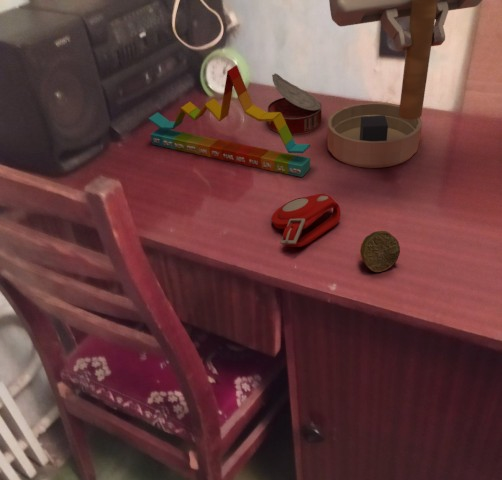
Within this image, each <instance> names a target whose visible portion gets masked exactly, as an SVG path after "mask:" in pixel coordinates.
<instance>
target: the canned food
mask: <svg viewBox="0 0 502 480" xmlns="http://www.w3.org/2000/svg"><path fill="white" fill-rule="evenodd" d="M271 77H272V83H273V85H274V88H275V89H276V90H277V91H278V93H279V94H280V95H281V96H282V97H280V98H277V99H276V100H274V101H272V102H271V103H269V105H268V106H267V112H281V113H282V116H283V118H284V120H285V122H286V124H287V126H288V128H289V131H290V133H291V135H292V136H293V135H294V136H296V135H303V134H308V133H311V132H314V131H316V130H317V129H319V127H321V125H322V107H323V105H322V103H321V102H320V101H319V100H318V99H317V98H316V97H315V96H314V95H312V94H310V93H309V92H307V91H305V90H304V89H301V88H300V87H299V86H297V85H294V84H293V83H291V82H289V81H288V80H286V79H284V78H283V77H282V76H281V75H279V74H278V73H273V74H271ZM267 123H268V127H269V130H272V131H273V132H274V133H277V134H279V133H278V131H277V128H276V126H275V124H274V122H273V121H267Z"/></svg>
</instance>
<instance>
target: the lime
mask: <svg viewBox="0 0 502 480" xmlns="http://www.w3.org/2000/svg"><path fill="white" fill-rule="evenodd" d="M359 251H360V256H361V259H362V262H363V264H364V265H365V266H366V268H367V269H369V270H370V271H371V272H373V273H374V272H375V273H381V272H385V271H387V270H388V269H390V268H391V267H393V265H395V263H396V262H397V261H398V260H399V257H400V253H401V247H400V243H399V240H398V239H397V238H396V237H395V236H394V235H393V234H391V233H390V232H389V231H386V230H378V231H373V232H371V233H370V234H368V235H367V236H365V238H364V239H363V241H362V243H361V246H360V250H359Z"/></svg>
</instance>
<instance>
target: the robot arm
mask: <svg viewBox="0 0 502 480" xmlns="http://www.w3.org/2000/svg"><path fill="white" fill-rule="evenodd" d="M411 2H412V0H328V3H329V10H330V11H329V12H330V17H331V20H332V22H334V23H335V24H336V25H337V26H338V27H347V26H354V25H360V24H369V23H374V22H375V23H376V22H380V24H381V29H382V30H383V31H384V32H385V33H386V34H387V35H388V36H389V37H390V38H391V40H393V43H394V46H395V51H396V52H397V53H398V52H406V50H409V48H410V47H411V46H412V39H411V38H410V36H411V34H410V30H408V29H407V30H404V29H403V28H402V26H401V25H400V23H398V21H397V19H403V18H408V17H409V18H410V11H411ZM481 2H483V0H438V1H437V8H436V16H435V23H434V30H433V37H432V44H431V47H438V46H441V45H443V43H444V42H445V41H446V32H445V28H444V25H445V23H446V20H447V17H448V13H449V11H455V10H464V9H471V8H476V7H478V6H479V5H480V4H481Z"/></svg>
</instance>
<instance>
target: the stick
mask: <svg viewBox="0 0 502 480" xmlns="http://www.w3.org/2000/svg"><path fill="white" fill-rule="evenodd" d="M437 1H438V0H412V2H411V11H410V16H409V20H408V21H409V23H408V29H407V30H410V34H411V36H410V38H411V39H412V46H411V47H410V48H409V50H405V55H404V56H405V57H404V65H403V66H404V67H403V74H402V83H401V91H400V101H399V106H400V109H399V116H400V117H401V118H404V119H417V118H421V117H422V115H423V109H424V100H425V93H426V88H427V87H426V86H427V78H428V72H429V65H430V58H431V52H432V46H431V44H432V37H433V30H434V25H435V21H436V19H435V16H436V8H437Z"/></svg>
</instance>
